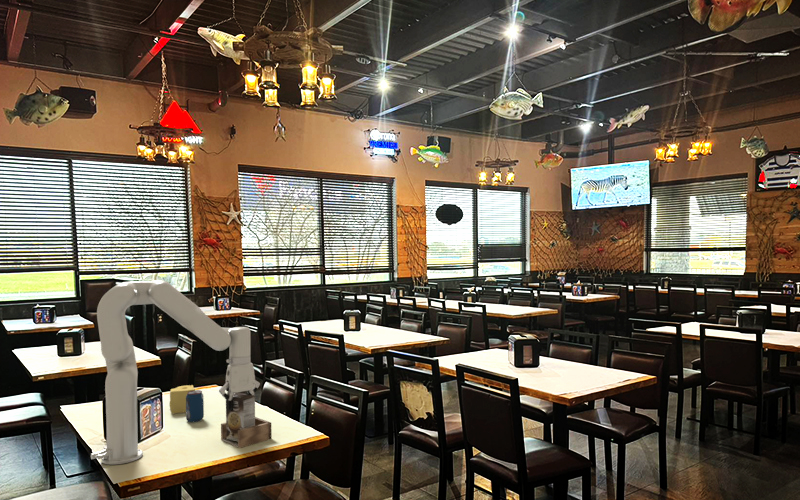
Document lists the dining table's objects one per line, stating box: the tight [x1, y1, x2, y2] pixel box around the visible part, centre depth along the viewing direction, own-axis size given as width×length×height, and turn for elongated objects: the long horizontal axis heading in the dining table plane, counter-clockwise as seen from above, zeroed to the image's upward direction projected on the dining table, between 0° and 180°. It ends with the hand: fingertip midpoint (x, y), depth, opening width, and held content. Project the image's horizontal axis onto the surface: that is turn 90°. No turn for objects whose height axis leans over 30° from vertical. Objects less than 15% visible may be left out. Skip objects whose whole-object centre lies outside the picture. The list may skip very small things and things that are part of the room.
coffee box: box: [225, 392, 256, 443], centre depth 203 cm, size 9×6×16 cm
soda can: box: [185, 389, 205, 424], centre depth 229 cm, size 7×7×12 cm
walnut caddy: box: [220, 416, 273, 449], centre depth 204 cm, size 13×13×6 cm
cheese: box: [169, 384, 196, 415], centre depth 246 cm, size 10×11×10 cm
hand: (240, 407), depth 203 cm, fingers closed on coffee box, 7 cm apart
